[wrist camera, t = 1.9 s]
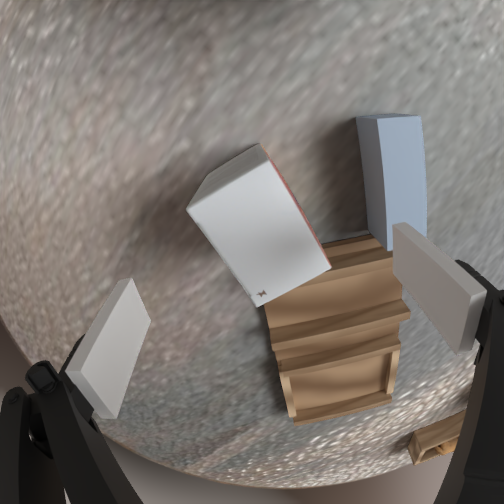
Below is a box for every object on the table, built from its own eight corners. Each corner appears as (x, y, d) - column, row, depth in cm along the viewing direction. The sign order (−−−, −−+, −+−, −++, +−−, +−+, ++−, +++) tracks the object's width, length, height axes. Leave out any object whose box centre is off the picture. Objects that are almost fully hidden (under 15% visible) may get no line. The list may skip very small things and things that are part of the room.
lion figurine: (471, 415, 48) (487, 444, 39) (459, 429, 50) (472, 457, 42) (423, 426, 46) (438, 461, 38) (411, 441, 49) (424, 474, 40)
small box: (305, 215, 28) (335, 271, 19) (252, 245, 29) (257, 311, 20) (260, 140, 25) (270, 156, 16) (204, 173, 26) (183, 209, 17)
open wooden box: (414, 431, 47) (422, 450, 42) (481, 401, 46) (490, 418, 41) (407, 448, 50) (413, 465, 46) (470, 421, 49) (478, 436, 45)
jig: (253, 258, 30) (254, 276, 27) (399, 228, 29) (415, 242, 26) (288, 410, 40) (291, 429, 37) (388, 386, 40) (395, 403, 36)
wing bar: (367, 229, 29) (387, 251, 25) (354, 116, 25) (376, 119, 20) (402, 222, 29) (426, 242, 24) (393, 113, 24) (420, 115, 20)
